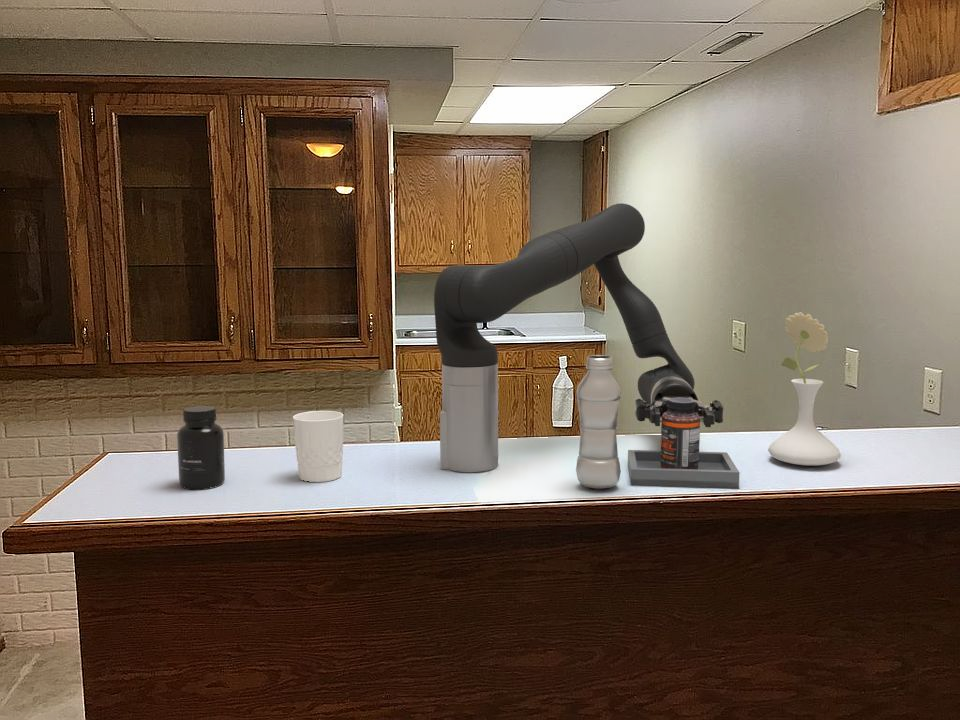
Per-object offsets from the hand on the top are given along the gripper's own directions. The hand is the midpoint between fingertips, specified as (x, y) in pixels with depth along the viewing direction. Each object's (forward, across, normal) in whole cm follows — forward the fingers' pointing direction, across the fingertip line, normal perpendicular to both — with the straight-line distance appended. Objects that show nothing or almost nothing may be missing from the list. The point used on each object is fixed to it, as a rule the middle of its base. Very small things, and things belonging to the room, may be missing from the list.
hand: (683, 420), depth 129 cm
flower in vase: (-14, +21, +10) cm, 27 cm away
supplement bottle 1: (+10, -74, +10) cm, 75 cm away
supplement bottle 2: (-2, 0, +9) cm, 9 cm away
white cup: (+4, -57, +10) cm, 58 cm away
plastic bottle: (+5, -13, +10) cm, 17 cm away
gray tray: (-2, 0, +10) cm, 10 cm away
